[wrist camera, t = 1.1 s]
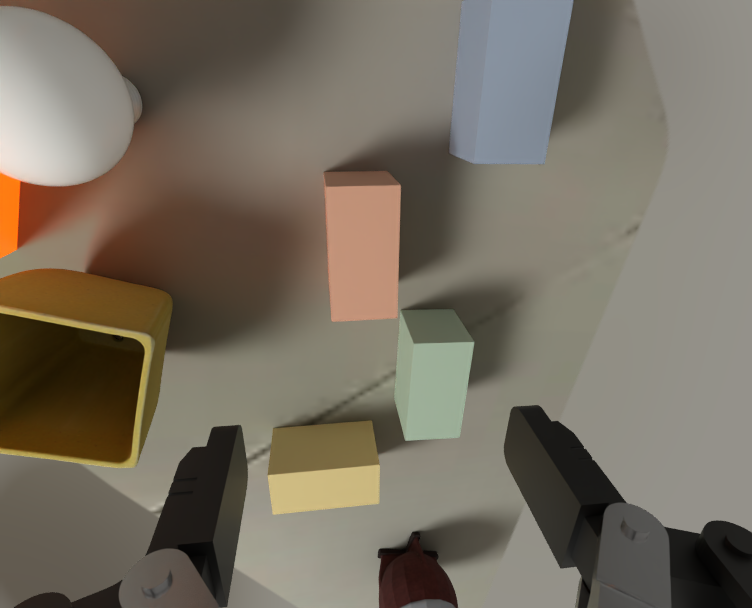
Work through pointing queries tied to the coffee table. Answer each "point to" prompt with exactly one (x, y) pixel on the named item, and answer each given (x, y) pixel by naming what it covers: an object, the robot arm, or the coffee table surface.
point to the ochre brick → (323, 467)
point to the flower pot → (79, 365)
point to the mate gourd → (413, 578)
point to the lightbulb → (59, 102)
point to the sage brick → (432, 373)
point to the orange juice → (8, 214)
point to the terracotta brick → (362, 244)
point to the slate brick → (507, 79)
